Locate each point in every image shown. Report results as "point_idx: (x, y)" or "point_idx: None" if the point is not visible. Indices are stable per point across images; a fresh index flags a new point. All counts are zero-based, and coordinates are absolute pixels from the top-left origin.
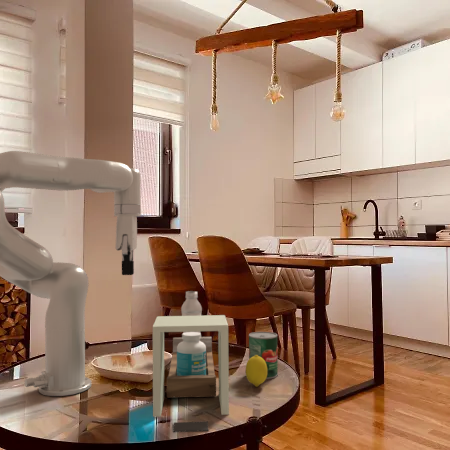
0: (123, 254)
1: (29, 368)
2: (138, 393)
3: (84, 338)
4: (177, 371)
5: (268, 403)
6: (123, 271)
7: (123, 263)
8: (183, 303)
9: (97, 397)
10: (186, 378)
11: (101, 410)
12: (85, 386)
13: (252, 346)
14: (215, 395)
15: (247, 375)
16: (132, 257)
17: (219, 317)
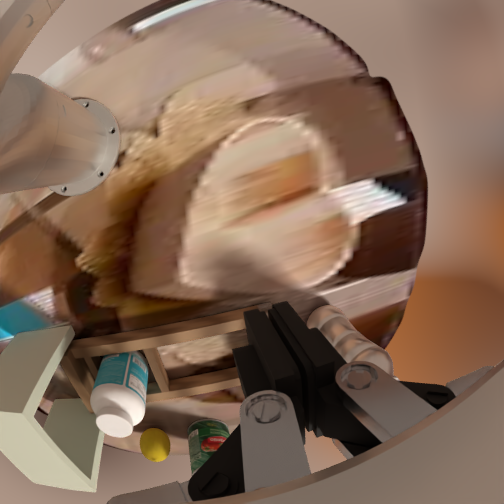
0: (118, 499)
1: (202, 17)
2: (75, 291)
3: (39, 186)
4: (105, 362)
5: (104, 435)
6: (250, 333)
7: (268, 377)
8: (379, 363)
9: (45, 230)
10: (70, 381)
11: (10, 259)
12: (62, 194)
13: (195, 457)
14: None
15: (143, 434)
16: (339, 449)
17: (73, 485)
